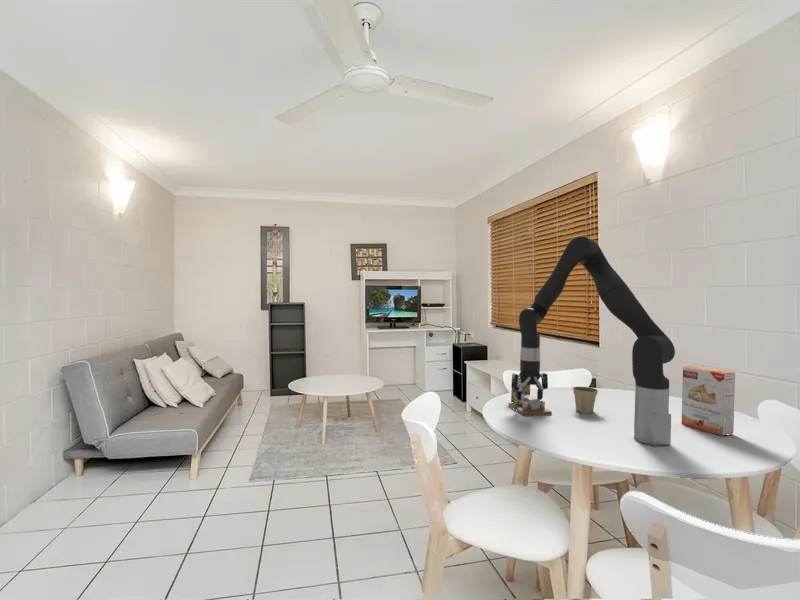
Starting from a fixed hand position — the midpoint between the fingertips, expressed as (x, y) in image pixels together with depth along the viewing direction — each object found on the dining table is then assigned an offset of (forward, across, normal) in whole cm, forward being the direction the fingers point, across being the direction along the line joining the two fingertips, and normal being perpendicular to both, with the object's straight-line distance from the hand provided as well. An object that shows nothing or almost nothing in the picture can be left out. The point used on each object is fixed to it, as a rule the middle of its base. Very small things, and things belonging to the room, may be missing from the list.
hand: (529, 399), depth 168 cm
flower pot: (+4, +22, -4) cm, 22 cm away
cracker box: (+4, +50, -31) cm, 59 cm away
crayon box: (+4, +2, +10) cm, 11 cm away
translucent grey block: (+3, 0, 0) cm, 3 cm away
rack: (+4, 0, 0) cm, 4 cm away
